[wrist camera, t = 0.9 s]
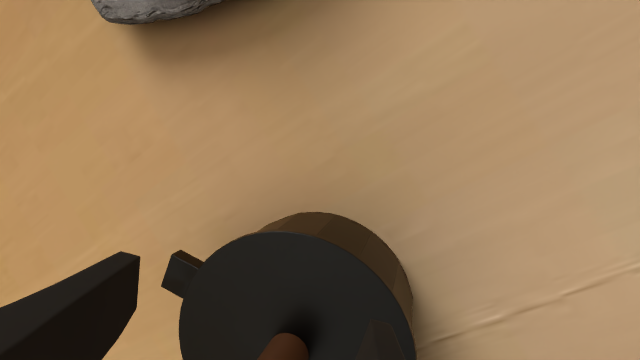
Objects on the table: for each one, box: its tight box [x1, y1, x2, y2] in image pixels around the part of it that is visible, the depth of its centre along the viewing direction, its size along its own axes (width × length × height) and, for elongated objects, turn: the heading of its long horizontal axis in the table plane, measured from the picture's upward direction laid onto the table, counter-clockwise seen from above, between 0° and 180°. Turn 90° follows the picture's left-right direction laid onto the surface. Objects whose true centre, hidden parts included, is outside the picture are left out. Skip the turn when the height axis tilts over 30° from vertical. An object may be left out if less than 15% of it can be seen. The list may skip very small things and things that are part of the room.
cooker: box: [161, 212, 413, 328], centre depth 27 cm, size 13×18×6 cm
